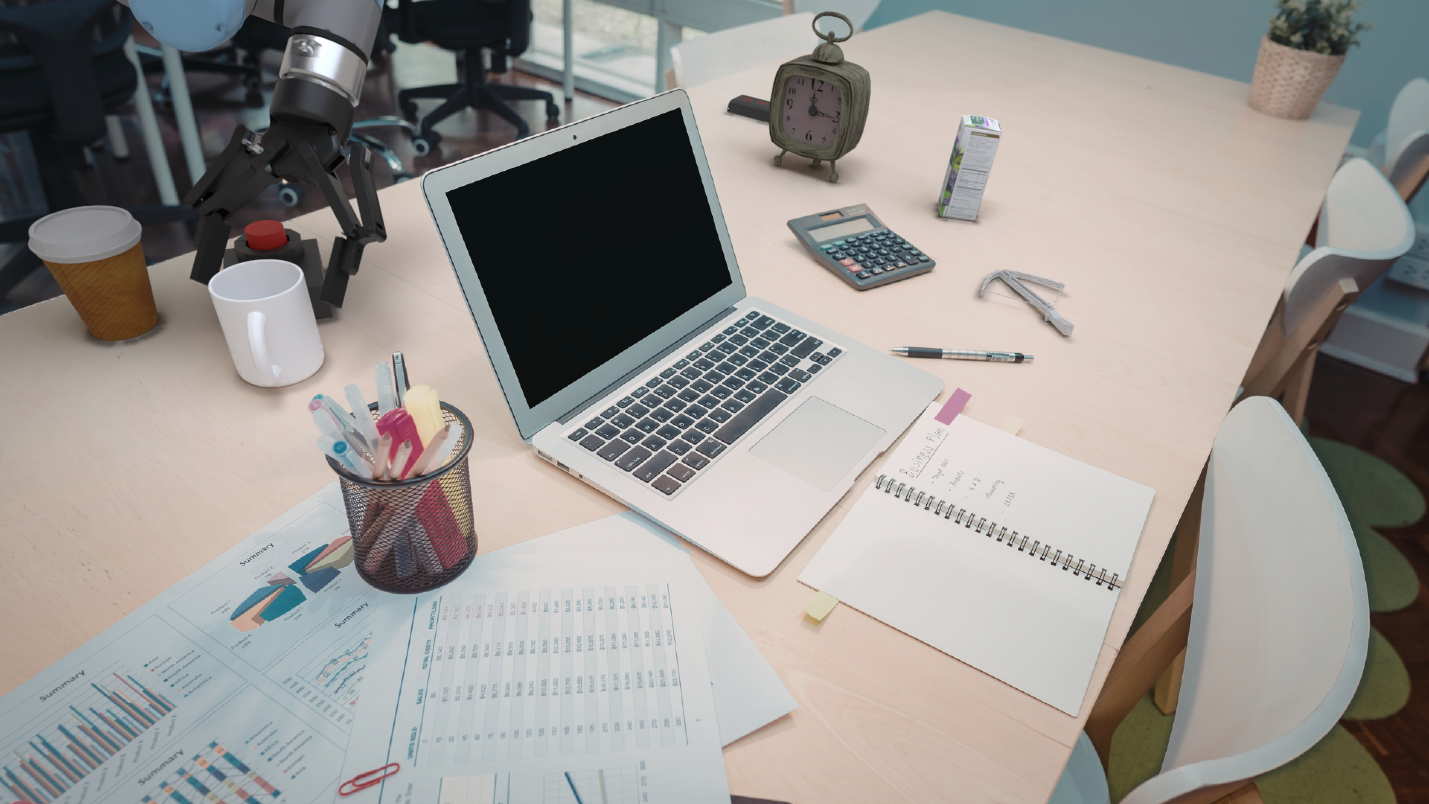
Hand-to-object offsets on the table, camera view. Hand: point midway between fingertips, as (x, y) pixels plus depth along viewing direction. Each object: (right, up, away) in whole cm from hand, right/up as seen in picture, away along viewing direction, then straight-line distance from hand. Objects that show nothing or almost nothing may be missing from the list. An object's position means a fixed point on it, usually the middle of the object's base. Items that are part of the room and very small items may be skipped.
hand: (265, 294), depth 80 cm
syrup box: (+83, +20, +50) cm, 99 cm away
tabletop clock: (+61, +29, +60) cm, 90 cm away
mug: (0, -8, +3) cm, 9 cm away
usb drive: (+53, +46, +80) cm, 107 cm away
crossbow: (+86, +2, +27) cm, 90 cm away
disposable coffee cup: (-20, -2, +9) cm, 22 cm away
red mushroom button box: (-6, +2, +15) cm, 16 cm away
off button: (-7, +8, +14) cm, 17 cm away
